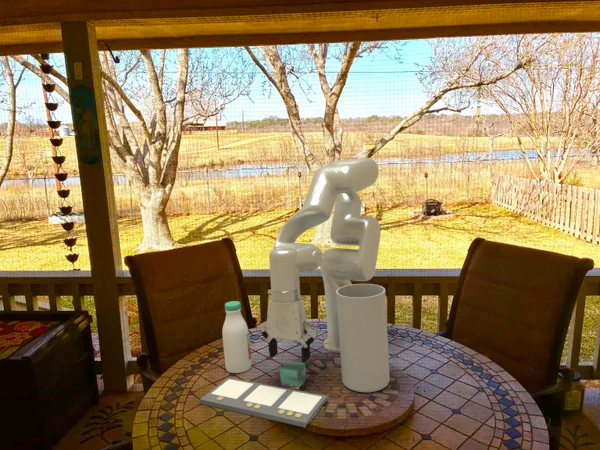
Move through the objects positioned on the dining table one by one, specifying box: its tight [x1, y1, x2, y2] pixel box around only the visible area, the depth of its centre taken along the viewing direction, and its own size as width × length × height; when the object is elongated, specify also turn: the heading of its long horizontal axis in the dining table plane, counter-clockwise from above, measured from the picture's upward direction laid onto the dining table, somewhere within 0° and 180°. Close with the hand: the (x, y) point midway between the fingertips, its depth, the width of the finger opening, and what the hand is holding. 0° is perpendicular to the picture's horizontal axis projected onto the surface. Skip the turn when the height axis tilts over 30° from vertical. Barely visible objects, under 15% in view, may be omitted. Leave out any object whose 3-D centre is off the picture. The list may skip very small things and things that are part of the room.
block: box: [279, 360, 307, 387], centre depth 117 cm, size 5×5×5 cm
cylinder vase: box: [336, 283, 391, 393], centre depth 114 cm, size 12×12×25 cm
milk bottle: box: [221, 300, 252, 374], centre depth 128 cm, size 8×8×20 cm
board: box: [199, 377, 328, 429], centre depth 109 cm, size 12×30×2 cm, turn 63°
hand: (289, 357), depth 115 cm, fingers open, 9 cm apart
